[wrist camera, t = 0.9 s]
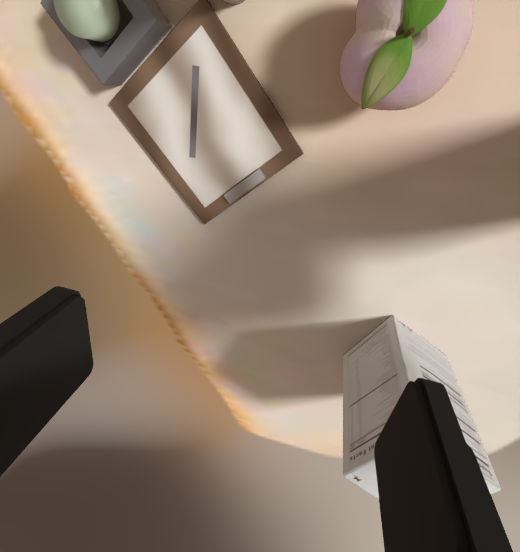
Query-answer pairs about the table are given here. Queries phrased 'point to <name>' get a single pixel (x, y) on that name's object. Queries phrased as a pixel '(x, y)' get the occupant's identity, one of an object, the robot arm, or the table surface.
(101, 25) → the button
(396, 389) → the supplement box
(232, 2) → the marker
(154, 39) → the button housing
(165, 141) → the clipboard
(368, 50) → the decorative fruit
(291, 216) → the table surface
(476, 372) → the table surface
